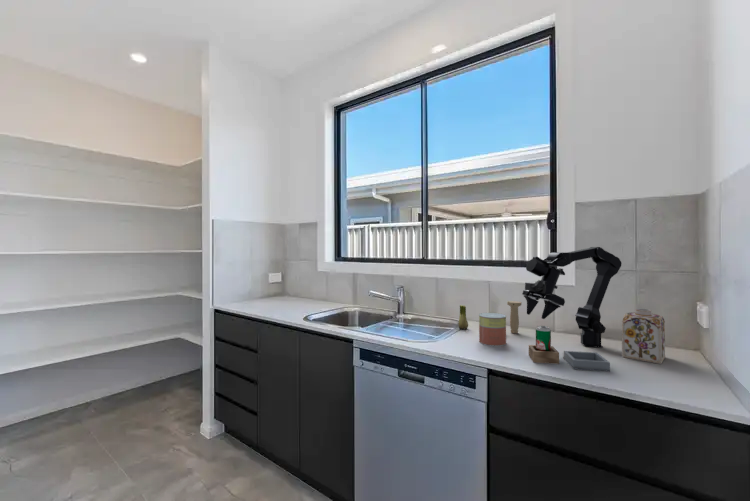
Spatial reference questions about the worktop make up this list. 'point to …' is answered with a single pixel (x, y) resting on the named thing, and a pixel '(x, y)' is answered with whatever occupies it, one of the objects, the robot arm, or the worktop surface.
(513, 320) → the handle
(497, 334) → the canned food
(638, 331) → the decorative jar
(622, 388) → the worktop surface
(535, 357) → the wooden box
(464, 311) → the fennel bulb
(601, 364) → the tray
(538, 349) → the soda can
